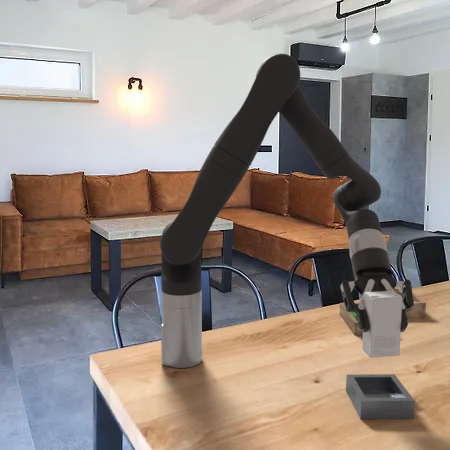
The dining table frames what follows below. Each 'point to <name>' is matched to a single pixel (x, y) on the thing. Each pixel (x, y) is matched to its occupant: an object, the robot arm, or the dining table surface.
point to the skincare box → (382, 324)
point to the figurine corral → (415, 307)
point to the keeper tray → (379, 396)
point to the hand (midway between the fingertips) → (384, 330)
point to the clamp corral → (350, 320)
